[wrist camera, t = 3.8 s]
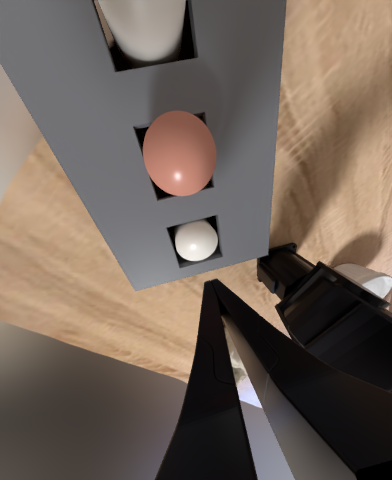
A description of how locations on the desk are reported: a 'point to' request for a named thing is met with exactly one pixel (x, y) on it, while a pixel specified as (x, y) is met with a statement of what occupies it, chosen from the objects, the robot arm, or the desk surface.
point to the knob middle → (179, 153)
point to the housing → (144, 113)
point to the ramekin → (367, 278)
